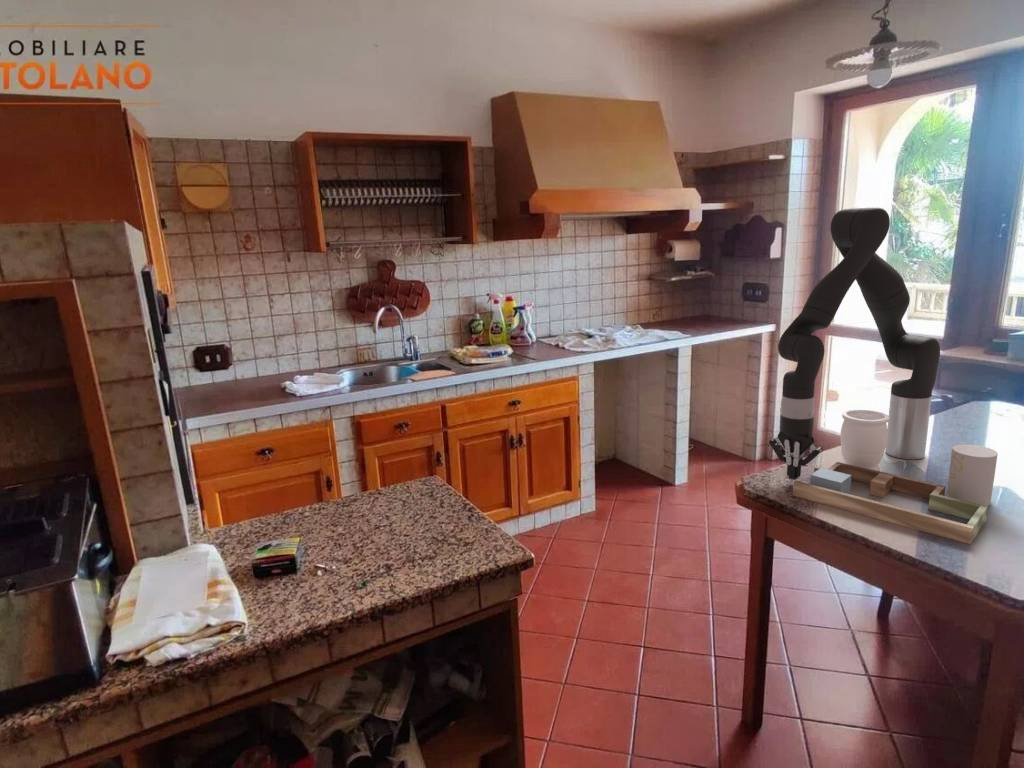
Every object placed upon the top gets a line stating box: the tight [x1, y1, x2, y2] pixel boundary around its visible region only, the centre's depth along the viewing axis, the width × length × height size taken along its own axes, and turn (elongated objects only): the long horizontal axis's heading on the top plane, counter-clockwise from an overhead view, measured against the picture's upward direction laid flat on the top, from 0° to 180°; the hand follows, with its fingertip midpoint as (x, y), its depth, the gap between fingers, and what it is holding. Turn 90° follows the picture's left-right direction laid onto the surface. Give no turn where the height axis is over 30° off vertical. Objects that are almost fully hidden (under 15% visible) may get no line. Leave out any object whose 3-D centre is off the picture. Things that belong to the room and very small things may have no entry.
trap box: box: [792, 461, 989, 545], centre depth 137 cm, size 19×35×4 cm, turn 41°
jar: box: [839, 409, 889, 472], centre depth 155 cm, size 11×10×15 cm
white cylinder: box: [945, 443, 998, 507], centre depth 135 cm, size 8×8×12 cm
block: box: [809, 467, 852, 495], centre depth 143 cm, size 6×7×5 cm
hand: (793, 478), depth 150 cm, fingers closed
